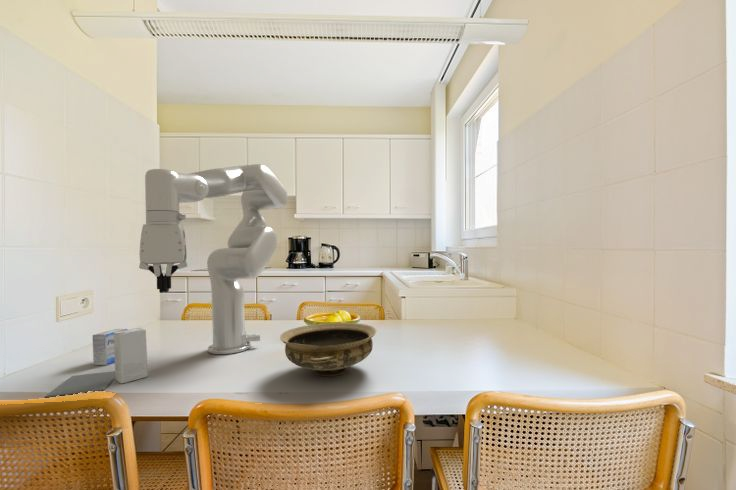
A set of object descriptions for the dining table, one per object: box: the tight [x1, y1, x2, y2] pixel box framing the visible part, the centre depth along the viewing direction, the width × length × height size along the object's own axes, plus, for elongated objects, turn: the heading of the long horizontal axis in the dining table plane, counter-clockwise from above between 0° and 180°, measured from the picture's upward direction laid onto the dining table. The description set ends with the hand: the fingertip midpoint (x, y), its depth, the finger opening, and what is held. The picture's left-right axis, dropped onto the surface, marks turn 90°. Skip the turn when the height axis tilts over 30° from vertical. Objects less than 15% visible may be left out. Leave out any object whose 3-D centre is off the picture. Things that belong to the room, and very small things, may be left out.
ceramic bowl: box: [279, 322, 377, 377], centre depth 97 cm, size 30×24×10 cm
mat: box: [44, 370, 116, 398], centre depth 92 cm, size 11×14×1 cm
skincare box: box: [114, 327, 149, 384], centre depth 95 cm, size 6×4×12 cm
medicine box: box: [91, 328, 129, 366], centre depth 111 cm, size 8×4×9 cm, turn 168°
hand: (164, 291), depth 97 cm, fingers closed
